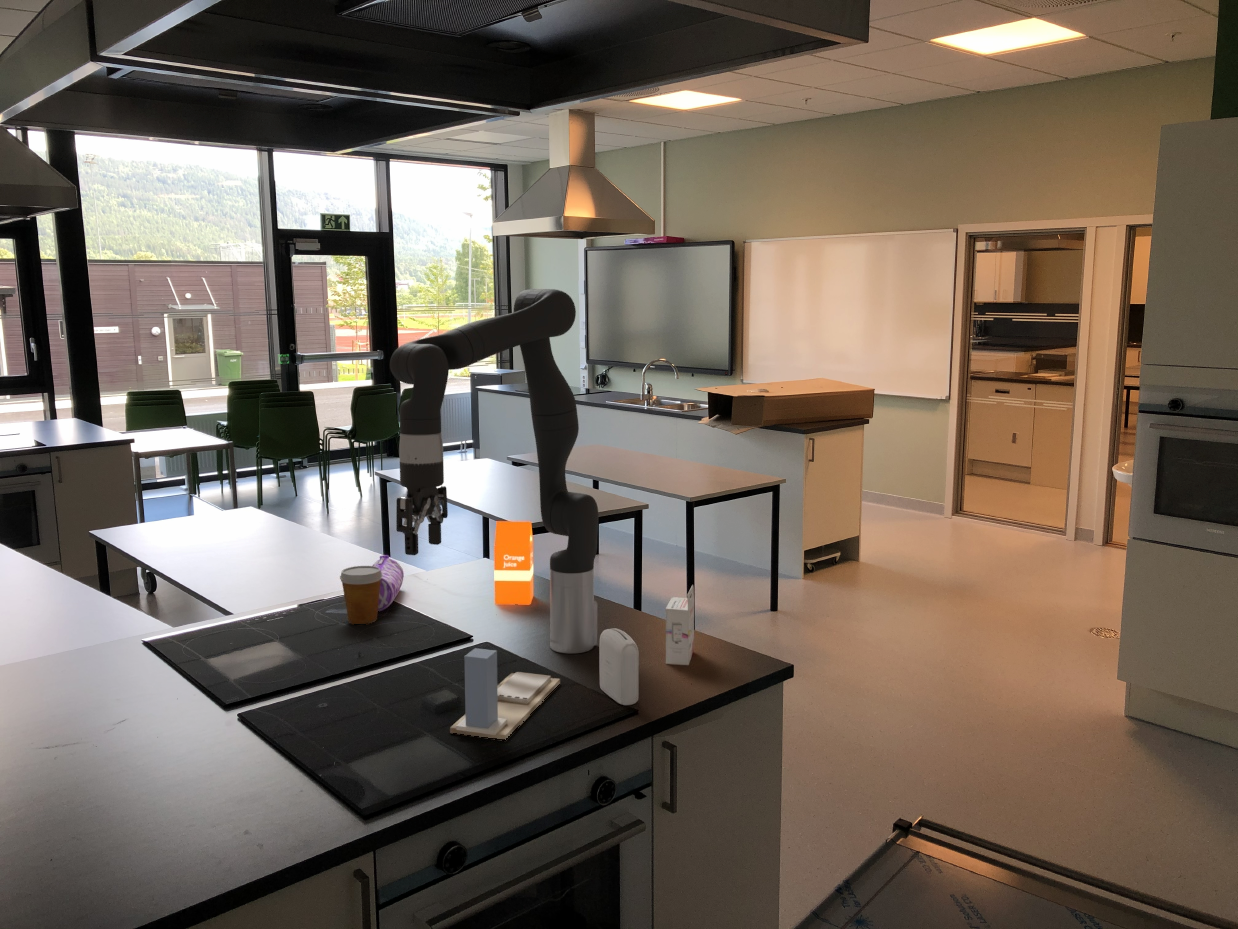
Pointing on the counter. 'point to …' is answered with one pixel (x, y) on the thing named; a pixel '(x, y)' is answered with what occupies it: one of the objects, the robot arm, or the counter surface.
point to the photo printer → (618, 666)
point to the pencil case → (388, 580)
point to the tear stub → (481, 693)
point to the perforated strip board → (517, 701)
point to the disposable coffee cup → (361, 593)
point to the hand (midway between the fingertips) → (423, 549)
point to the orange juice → (513, 562)
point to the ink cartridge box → (680, 629)
